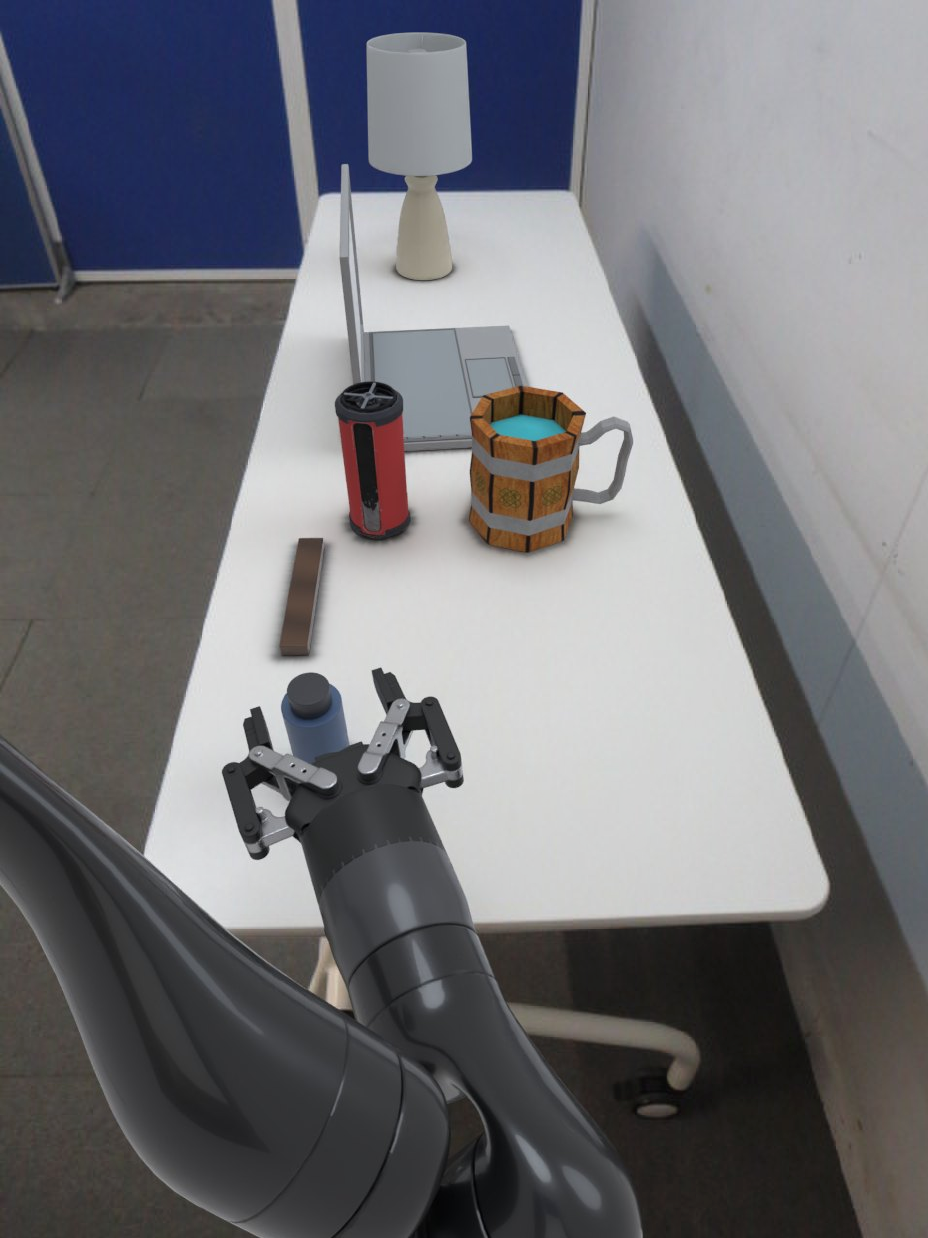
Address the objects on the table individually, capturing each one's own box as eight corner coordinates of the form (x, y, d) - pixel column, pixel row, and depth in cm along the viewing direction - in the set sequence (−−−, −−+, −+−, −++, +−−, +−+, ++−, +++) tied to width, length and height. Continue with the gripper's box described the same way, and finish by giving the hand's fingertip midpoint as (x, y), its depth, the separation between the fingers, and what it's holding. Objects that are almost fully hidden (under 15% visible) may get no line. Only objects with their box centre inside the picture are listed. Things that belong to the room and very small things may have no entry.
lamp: (475, 252, 164) (477, 31, 138) (467, 290, 151) (467, 55, 125) (385, 249, 165) (370, 29, 139) (369, 287, 152) (349, 53, 126)
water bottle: (331, 801, 74) (314, 721, 65) (286, 778, 75) (264, 697, 67) (363, 760, 77) (351, 679, 68) (319, 738, 78) (302, 656, 70)
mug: (472, 555, 98) (474, 450, 87) (464, 489, 107) (464, 387, 96) (631, 547, 99) (652, 443, 88) (609, 483, 108) (625, 381, 98)
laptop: (542, 444, 115) (558, 248, 95) (359, 454, 113) (337, 257, 94) (508, 332, 139) (516, 158, 120) (357, 339, 137) (340, 164, 118)
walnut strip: (309, 655, 86) (307, 645, 85) (281, 655, 86) (278, 646, 85) (324, 546, 99) (323, 537, 98) (300, 547, 99) (298, 537, 98)
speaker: (342, 537, 100) (325, 409, 87) (359, 500, 105) (344, 374, 93) (403, 543, 99) (394, 415, 86) (416, 506, 105) (409, 380, 92)
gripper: (504, 805, 43) (409, 625, 55) (241, 905, 40) (199, 690, 51) (510, 880, 48) (421, 700, 60) (275, 975, 45) (230, 764, 56)
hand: (318, 696), depth 55 cm, fingers open, 8 cm apart
